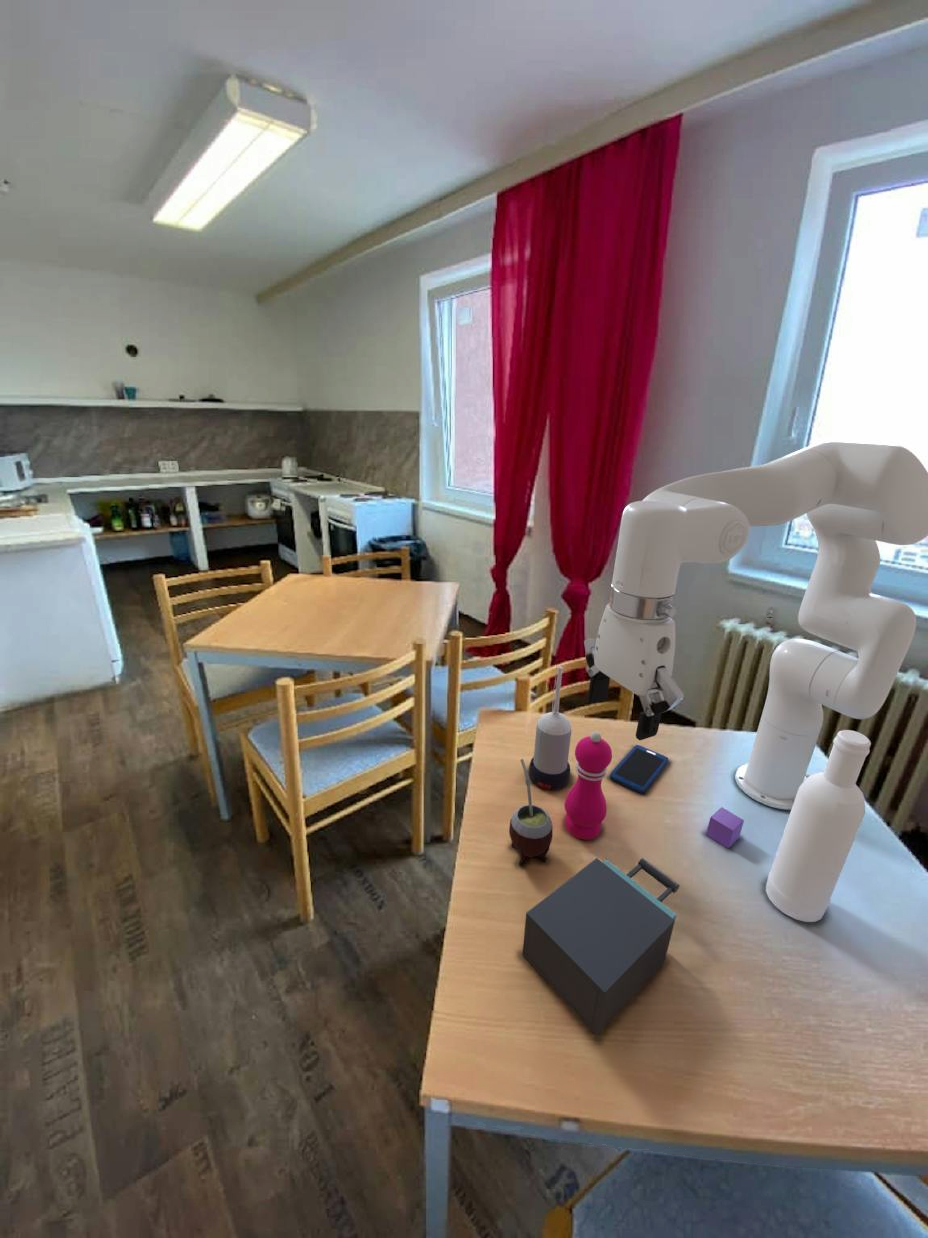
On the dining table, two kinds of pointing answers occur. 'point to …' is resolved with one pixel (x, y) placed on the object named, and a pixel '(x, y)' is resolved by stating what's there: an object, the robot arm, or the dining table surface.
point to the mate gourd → (530, 829)
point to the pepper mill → (588, 788)
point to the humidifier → (552, 747)
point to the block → (724, 827)
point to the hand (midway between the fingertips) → (620, 717)
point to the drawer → (656, 874)
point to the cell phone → (639, 768)
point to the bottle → (820, 832)
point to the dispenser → (596, 942)
